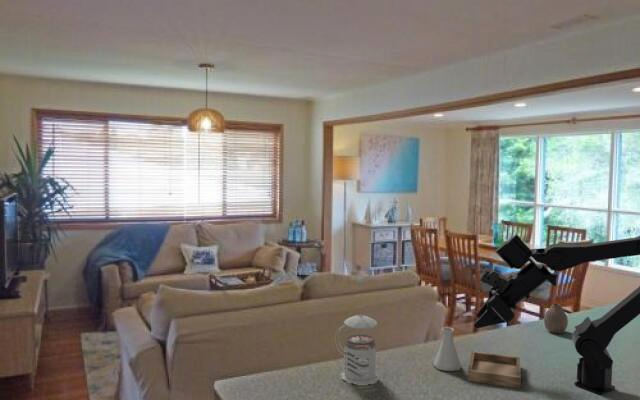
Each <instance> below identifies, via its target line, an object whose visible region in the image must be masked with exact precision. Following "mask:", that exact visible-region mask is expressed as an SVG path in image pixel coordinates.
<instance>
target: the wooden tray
mask: <svg viewBox="0 0 640 400" xmlns="http://www.w3.org/2000/svg"><path fill="white" fill-rule="evenodd" d="M520 358H521V357H519V356H515V355H514V356H512V355H506V354H505V355H504V354H496V353H490V352H481V351H473V350H472V351H471V354H470V359H469V364H468V368H467V381H468V382H469V381H471V382H477V383H483V384H489V385H498V386H502V387H503V386H505V387H510V388H511V387H512V388H519V389H521V387H522V386H521V383H522V375H521V374H522V373H521V372H522V371H521V359H520Z"/></svg>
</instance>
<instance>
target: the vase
mask: <svg viewBox="0 0 640 400" xmlns="http://www.w3.org/2000/svg"><path fill="white" fill-rule="evenodd" d="M543 323H544V324H543V325H544V327H545V328H546V330H547V331H548V332H549V333H551V334H555V335H556V334H563V333H564V332H565V331H566V330H567V328H568V324H569V317H568V315H567V313H566V312H565V310H564V309H563V308H562V305H561V304H559V303H552V304H551V306H550V307H549V308H548V309H547V310H546V311H545V313H544V317H543Z"/></svg>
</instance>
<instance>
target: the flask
mask: <svg viewBox="0 0 640 400" xmlns="http://www.w3.org/2000/svg"><path fill="white" fill-rule="evenodd" d="M441 332H442V338H441V343H440V347H439V349H438V350H437V351H438V352H437V354H436V356H435V359H434V362H433V364H432V365H433V367H435V368H436V369H437V370H439V371H446V372H455V371H460V370H461V368H462V364H461V362H460V358H459V355H458V352H457V350H456V346H455V342H454V332H455V329H454V328H453V327H445V326H444V327H442V328H441Z"/></svg>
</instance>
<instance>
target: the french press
mask: <svg viewBox="0 0 640 400" xmlns="http://www.w3.org/2000/svg"><path fill="white" fill-rule="evenodd" d="M365 282H366V280H365V278H364V277H362V276H359V277H358V278H357V283H360V289H362V285H363V284H362V283H365ZM359 302H360V305H359V307H360V312H359V313H360V314H359V315H353V316H351V317H348V318H346V319H345V320H344V322H343V323H344V324H343V325H342V326H340V327H339V328H338V329H336V332H335V334H334V343H335V346H336V349H337V350H338V352H339V353H340V354H342V355H343V358H344V359H343V366H344V367H343V372H342V373H340V375H342V378H343V379H345V380H346V381H348V382H351V383H356V384H361V385H360V386H369V385H368V384H371V385H374V384H377V383H378V382H379V381H380V379H379V378H380V376H378V375H379V374H378V373H377V372H376V370H377V369H376V366H377V365H376V363H377V361H376V360H377V359H376V357H377V353H376V352H377V346H376V342H375V340H376V339H375V337H374V336H373V335H369V334H367V333H366V334H363V333H362V330H369V329H374V328H376V327H377V324H378V322H377V321H376V320H375V319H374V318H371V317H370V316H367V315H363V314H362V299H360V301H359ZM343 328H344V332H345V333H346V332H347V331H348V330H349V328H350V329H351V328H352V329H357V330H359V333H354V334H353V333H352V334H350V335H349V334H348V335H347V336H346V337H345V340H346V342H347V343H346V342H345V343H344V348H343V347H342V345H341V341H340V333H341V331H342V329H343ZM346 328H347V329H346ZM337 334H338V335H337ZM337 341H338V344H339V347H340V348H341V350H342V351H343V352H344V353H343V352H341V350H340V349H339V348H338V345H337ZM356 346H357V347H356ZM367 346H368V347H367ZM363 349H364V350H363ZM364 360H366V361H364ZM378 380H379V381H378ZM377 381H378V382H377ZM362 384H364V385H362Z"/></svg>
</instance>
